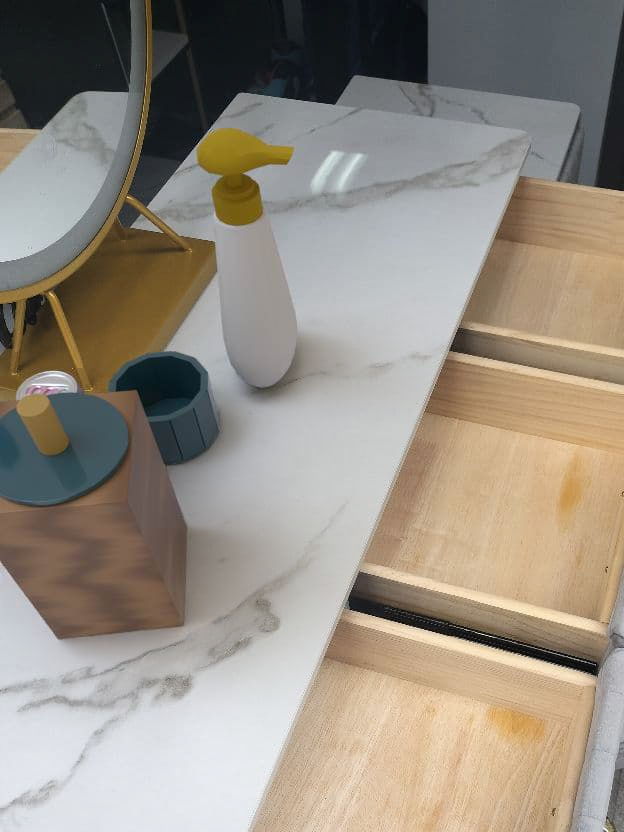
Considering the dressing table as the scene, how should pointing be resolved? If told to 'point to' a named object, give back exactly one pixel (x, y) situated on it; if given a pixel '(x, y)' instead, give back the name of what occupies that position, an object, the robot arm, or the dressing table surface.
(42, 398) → the lid
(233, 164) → the soap bottle
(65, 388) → the beverage can
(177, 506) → the stand
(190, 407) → the pot
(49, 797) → the dressing table surface
